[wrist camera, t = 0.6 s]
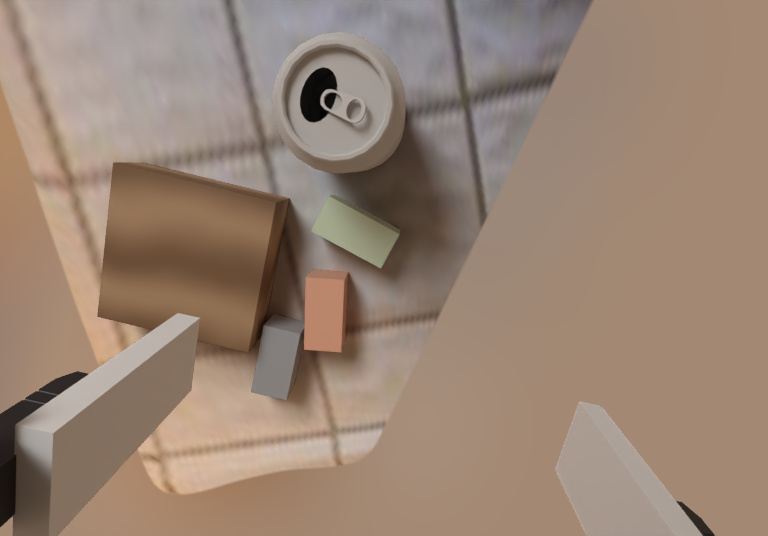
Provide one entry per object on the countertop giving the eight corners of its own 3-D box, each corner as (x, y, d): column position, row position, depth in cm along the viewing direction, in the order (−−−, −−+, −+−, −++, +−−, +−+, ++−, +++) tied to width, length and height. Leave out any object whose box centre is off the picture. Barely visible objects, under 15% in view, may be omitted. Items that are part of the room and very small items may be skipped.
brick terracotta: (313, 268, 38) (305, 277, 36) (348, 271, 38) (344, 280, 35) (311, 335, 40) (304, 349, 37) (345, 338, 40) (341, 352, 37)
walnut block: (143, 162, 37) (113, 162, 33) (289, 198, 37) (276, 202, 33) (127, 301, 40) (97, 316, 36) (263, 334, 40) (248, 352, 36)
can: (328, 54, 35) (290, -3, 23) (420, 93, 35) (429, 57, 23) (295, 149, 36) (244, 142, 25) (383, 186, 37) (373, 195, 25)
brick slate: (273, 313, 39) (263, 325, 37) (307, 321, 40) (300, 334, 37) (261, 375, 41) (251, 392, 38) (294, 383, 41) (286, 400, 38)
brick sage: (318, 226, 38) (311, 231, 35) (334, 193, 37) (329, 195, 34) (382, 260, 38) (380, 268, 35) (399, 229, 37) (399, 234, 35)
